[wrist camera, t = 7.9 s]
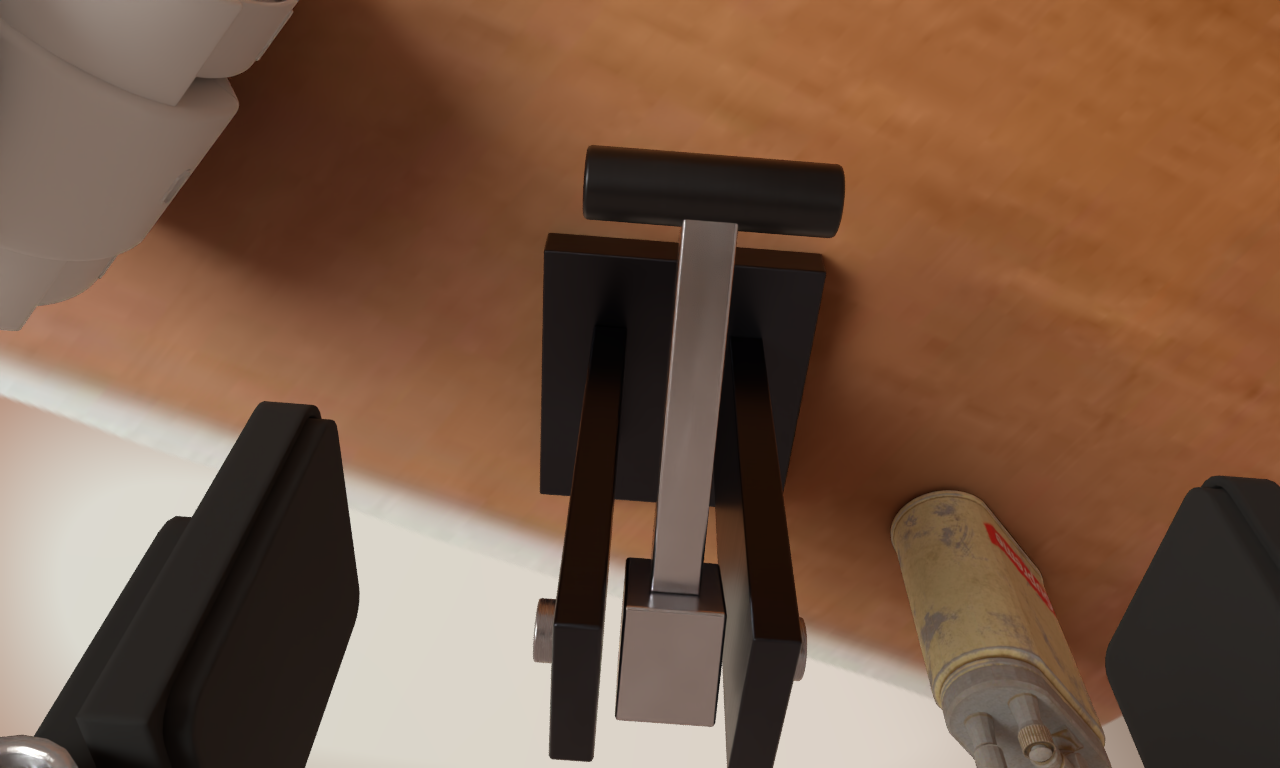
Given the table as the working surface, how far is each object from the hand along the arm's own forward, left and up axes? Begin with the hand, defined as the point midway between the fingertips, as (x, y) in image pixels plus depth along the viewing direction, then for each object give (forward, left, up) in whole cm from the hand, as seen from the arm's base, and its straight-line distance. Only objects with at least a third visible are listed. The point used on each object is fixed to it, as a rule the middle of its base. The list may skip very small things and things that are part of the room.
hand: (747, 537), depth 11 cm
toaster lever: (+6, 0, -10) cm, 11 cm away
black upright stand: (+10, 0, -18) cm, 21 cm away
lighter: (+17, +11, -18) cm, 27 cm away
